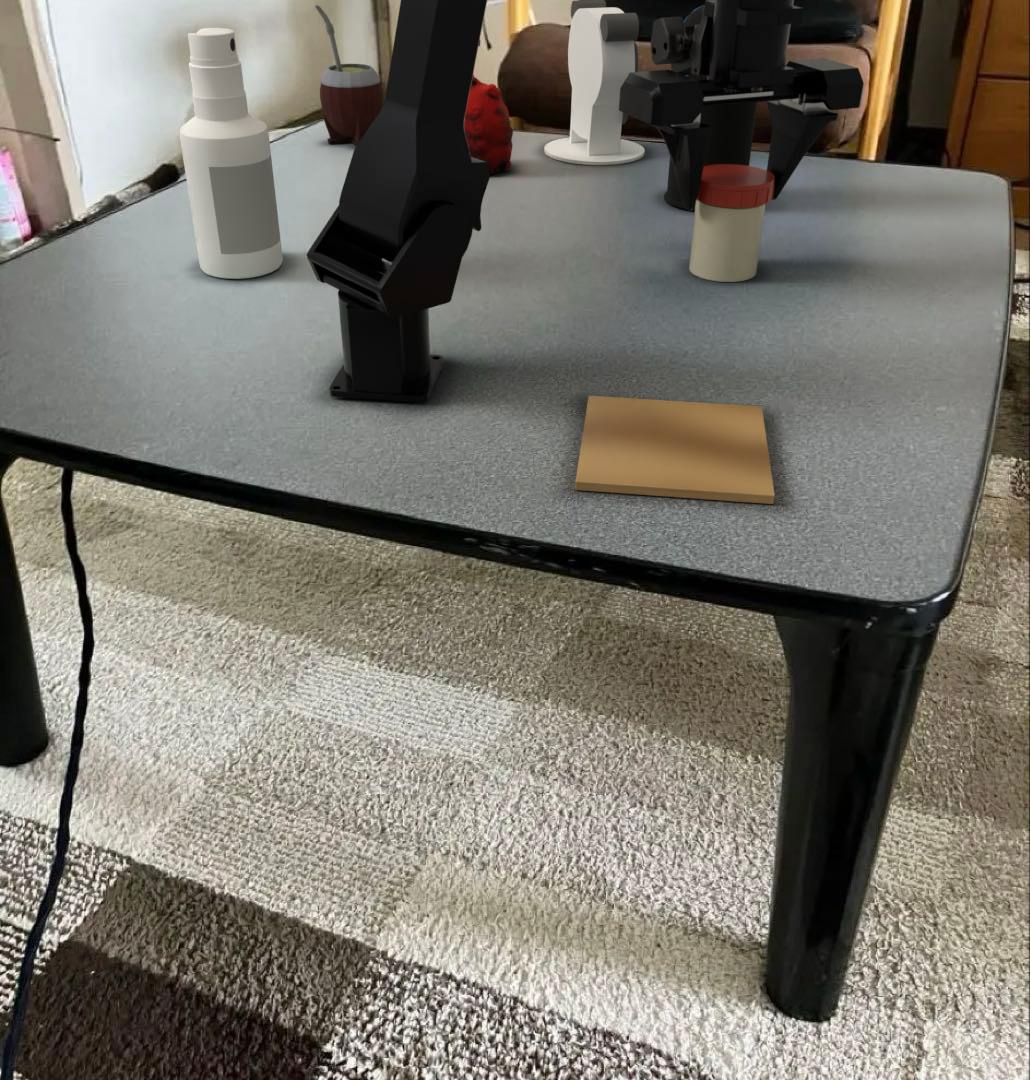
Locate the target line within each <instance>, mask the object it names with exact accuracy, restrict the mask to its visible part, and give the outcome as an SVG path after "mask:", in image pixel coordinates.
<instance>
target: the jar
mask: <svg viewBox="0 0 1030 1080" xmlns="http://www.w3.org/2000/svg"><path fill="white" fill-rule="evenodd" d="M766 205H767V204H764V205H761V206H756V207H747V208H731V207H721V206H715V205H710V204H706V203H703V202H700V201H698V200H696V203H695V211H694V215H693V224H692V235H691V245H690V254H689V263H688V270H689V272H691V274H692V275H694V276H696V277H698V278H700V279H703V280H707V281H713V282H719V283H738V282H745V281H748V280H751V279H753V278H755V276H756V275H757V270H758V265H759V264H758V263H759V256H760V249H761V243H762V242H761V241H762V236H763V235H762V234H763V227H764V221H765V214H766Z"/></svg>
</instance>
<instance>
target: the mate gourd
mask: <svg viewBox="0 0 1030 1080" xmlns="http://www.w3.org/2000/svg"><path fill="white" fill-rule="evenodd" d="M314 8H315V9H316V10H317V12H318V13H319V15H320V17H321V18H322V19H323V21H324V24H325V29H326V34H327V35H328V37H329V40H330V45H331V50H332V53H333V58H334V62H335V64H333V65H330V66H328V67H327V68H326V69H325V70H324V72H323V74H322V76H321V78H320V86H319V98H320V105H321V111H322V112H321V113H322V117H323V118H322V119H323V121H324V124H325V127H326V130H327V133H328V136H329V138H327V143H328V145H339V144H352V145H354V148H355V147H356V146H357V144H358V143H359V141H360V140H361V138H362V137H363V136H364V134H365V133H366V131H367V130H368V128H369V127H370V126H371V124H372V123H373V121H374V120H375V118H376V117H377V116H378V114H379V113H380V111H381V109H382V107H383V104H384V91H383V86H382V81H381V78H380V76H379V74H378V72H377V71H376V70H375V69H374V67H373V66H371V65H370V64H369V65H368V64H364V63H341V59H340V55H339V50H338V45H337V41H336V38H335V37H336V36H335V34H336V33H335V30H334V25H333V23H331V20H330V18H329V16H328V14H327V13H326V12H325V10H324V9H323V8H322V7H321V6H320V5H318V4H315V6H314Z"/></svg>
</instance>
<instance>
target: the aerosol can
mask: <svg viewBox="0 0 1030 1080" xmlns="http://www.w3.org/2000/svg"><path fill="white" fill-rule="evenodd" d="M704 6H705V4H703V5H700V6H698V7H697V8H695V9H693V10H692V11H691V12H690V13H689V14H688V15H687V16H686V17H685V19H684V20H683V21H684V24H685V26H695V25H698V24H700V22H701V19H702V10H703V7H704ZM685 76H688V77H690V78H693V79H696V80H707V77H706V76H697V75H685ZM757 89H758V88H756V89H751V90H752V91H753V90H757ZM724 92H725V93H726V92H735V90H734V91H731V90H730V91H724ZM757 108H758V102H752V103H741V104H729V105H718V106H707V107H703V108H702V112H701V121H700V122H701V123H704V124H706V125H708V126H711V132H710V137H709V143H708V148H707V153H706V158H705V163H704V166H708V165H717V164H736V165H746V166H750V162H751V155H752V149H753V148H752V146H753V138H754V131H755V125H756V123H755V122H756V116H757ZM668 163H669V165H668V174H667V176H668V177H667V187H666V191H665V192H664V194H663V199H664V201H665V202H666V203H667V204H668V205H670V206H673V207H674V208H678V209H681V210H684V211H689V212H695V206H694V209H693V210H688V209H686V208H684V207H683V205H682V201H681V197H680V193H679V189H678V185H677V181H676V177H675V173H674V169H673V165H672V161H671V157H670V156H669V162H668Z"/></svg>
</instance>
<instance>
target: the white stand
mask: <svg viewBox="0 0 1030 1080" xmlns="http://www.w3.org/2000/svg"><path fill="white" fill-rule="evenodd" d="M570 17H571V24H570V28H569V37H568V44H567V45H568V46H567V61H568V62H567V64H568V65H567V67H568V74H569V76H568V77H569V81H570V85H571V103H570V105H571V106H570V126H569V137H562V138H559V139H555V140H554V139H553V140H552V141H549V142H548V143H546V144H545V145H544V146H543V147H544V151H543V152H544V154H545V155H546V156H547V157H549V158H551V159H553V160H556V161H559V162H565V163H569V164H577V165H584V166H585V165H586V166H587V165H588V166H612V165H613V166H614V165H622V164H628V163H632V162H635V161H638V160H641V159H642V158H643V157H644V156H645V151H646V150H645V148H644V147H643V146H642V145H641V144H639V143H637V142H634V141H631V140H627V139H623V138H622V128H623V127H622V125H625V124H626V123H627V121H628V119H629V115H628V114H626V113H623V112H621V111H619V100H620V88H621V86H622V85H623V83H624V81H625V80H626V78H627V76H628V75H629V73H630V72H639V51H638V44H637V43H636V41H637V40H638V38H639V33H640V20H639V16H638V15H637V13H636V12H624V11H623V10H622V9H621V8H619V7H617V6H616V7H615V6H614V7H612V6H611V7H607V2H606V0H572V2H571V5H570Z"/></svg>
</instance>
